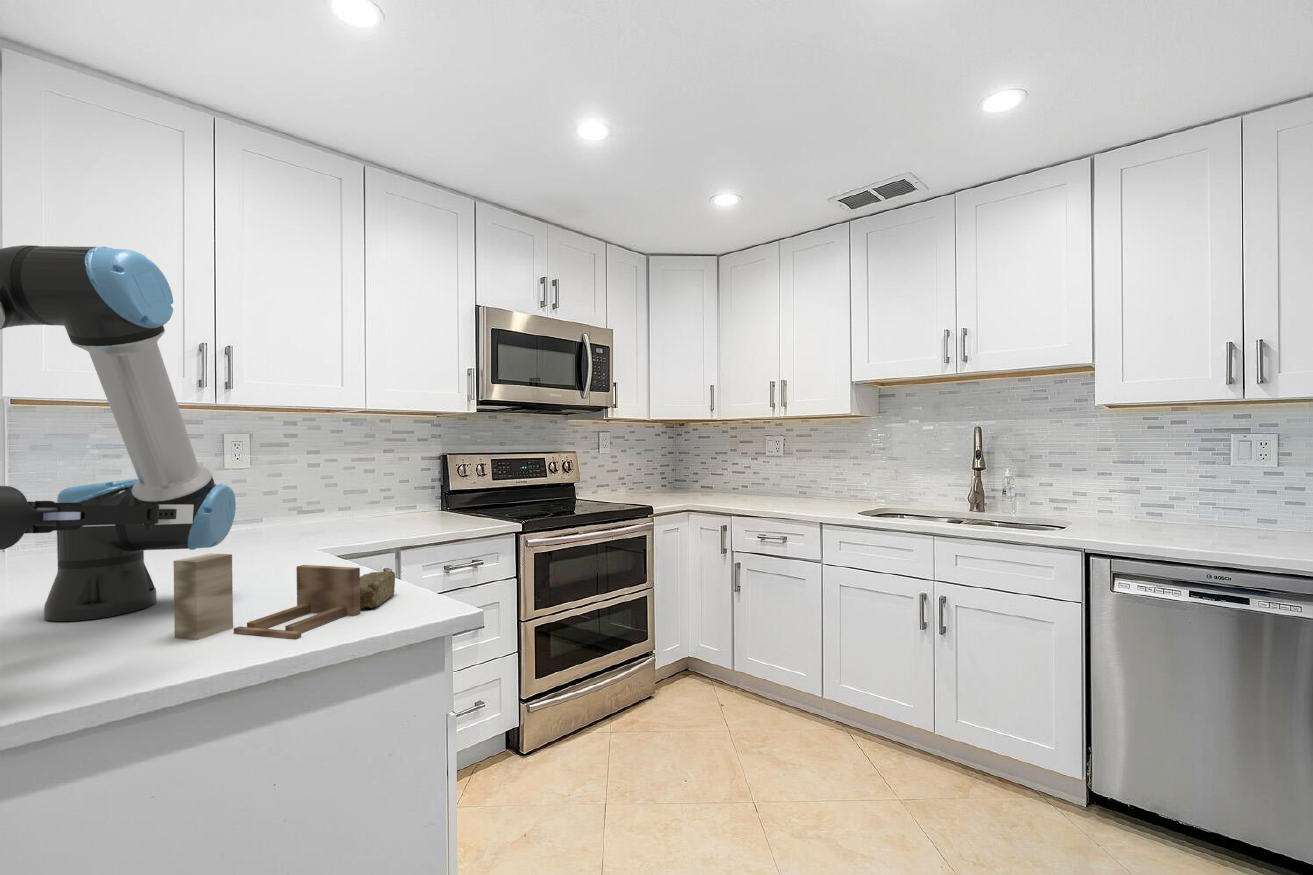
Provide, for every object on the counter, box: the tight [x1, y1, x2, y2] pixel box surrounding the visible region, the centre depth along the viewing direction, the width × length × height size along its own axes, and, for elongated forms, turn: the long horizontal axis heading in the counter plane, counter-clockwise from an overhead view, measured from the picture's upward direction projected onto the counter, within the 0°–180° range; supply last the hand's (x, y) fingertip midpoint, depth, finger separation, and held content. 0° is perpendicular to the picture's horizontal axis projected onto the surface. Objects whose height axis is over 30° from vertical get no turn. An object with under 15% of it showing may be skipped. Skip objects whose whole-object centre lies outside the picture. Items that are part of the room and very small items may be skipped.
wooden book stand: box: [233, 564, 361, 640], centre depth 103 cm, size 12×14×8 cm
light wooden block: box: [173, 553, 234, 641], centre depth 98 cm, size 4×6×12 cm
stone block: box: [360, 570, 396, 611], centre depth 115 cm, size 6×12×5 cm, turn 5°
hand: (152, 515), depth 90 cm, fingers open, 13 cm apart
